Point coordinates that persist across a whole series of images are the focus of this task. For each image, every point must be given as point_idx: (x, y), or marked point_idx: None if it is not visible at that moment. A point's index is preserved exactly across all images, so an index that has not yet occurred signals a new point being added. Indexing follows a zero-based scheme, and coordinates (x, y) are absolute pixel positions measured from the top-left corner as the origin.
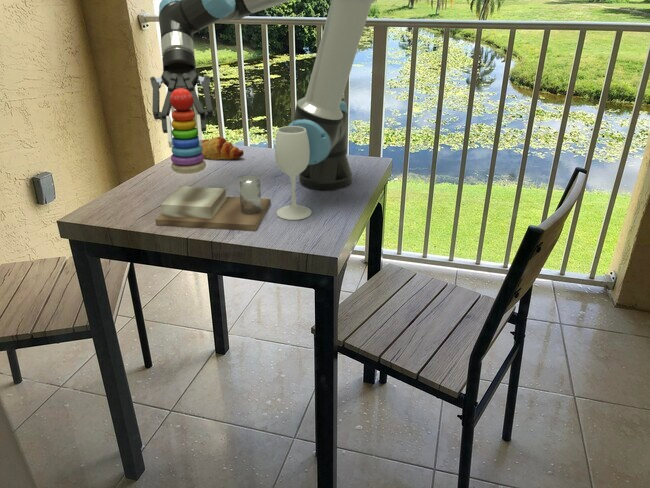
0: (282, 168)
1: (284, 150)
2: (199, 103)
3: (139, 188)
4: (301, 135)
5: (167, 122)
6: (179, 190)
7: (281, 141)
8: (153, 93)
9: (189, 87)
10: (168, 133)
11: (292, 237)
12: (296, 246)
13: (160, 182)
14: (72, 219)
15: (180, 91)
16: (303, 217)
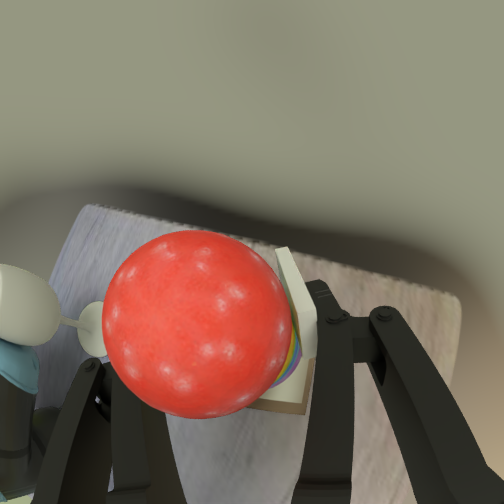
0: (54, 292)
1: (25, 272)
2: (117, 396)
3: (396, 454)
4: None
5: (303, 288)
6: (296, 377)
7: (15, 272)
8: (454, 410)
9: (135, 500)
10: (290, 261)
11: (109, 246)
12: (110, 222)
13: (362, 487)
14: (454, 306)
15: (160, 248)
16: (87, 306)
